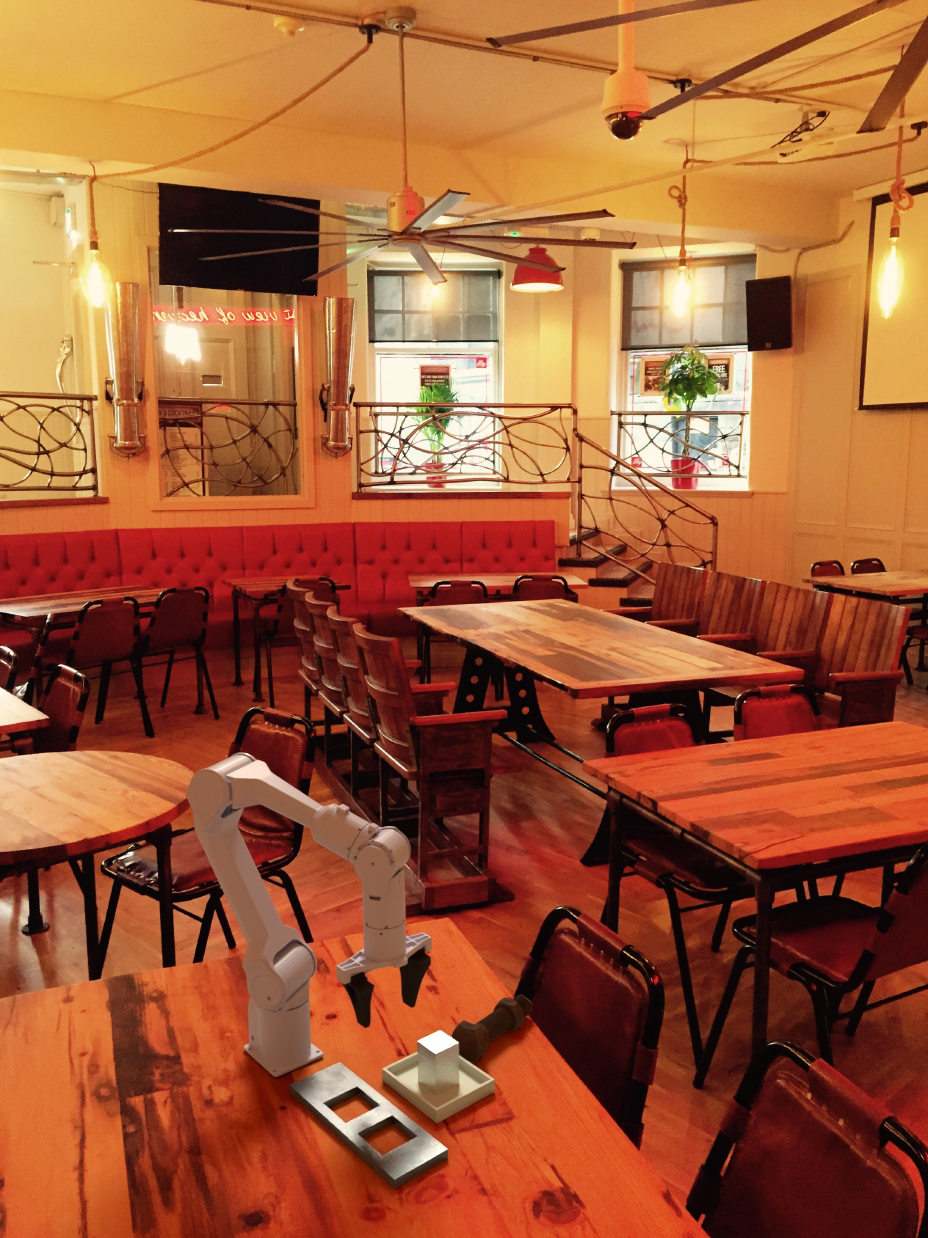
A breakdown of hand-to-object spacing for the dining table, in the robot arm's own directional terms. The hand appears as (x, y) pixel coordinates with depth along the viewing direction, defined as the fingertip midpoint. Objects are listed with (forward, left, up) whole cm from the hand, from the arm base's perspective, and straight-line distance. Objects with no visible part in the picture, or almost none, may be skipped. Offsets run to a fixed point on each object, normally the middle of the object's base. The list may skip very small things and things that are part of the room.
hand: (386, 1014), depth 134 cm
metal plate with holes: (+6, -8, -9) cm, 14 cm away
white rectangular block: (+6, +4, -9) cm, 11 cm away
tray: (+6, +4, -9) cm, 12 cm away
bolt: (+2, +18, -10) cm, 21 cm away
